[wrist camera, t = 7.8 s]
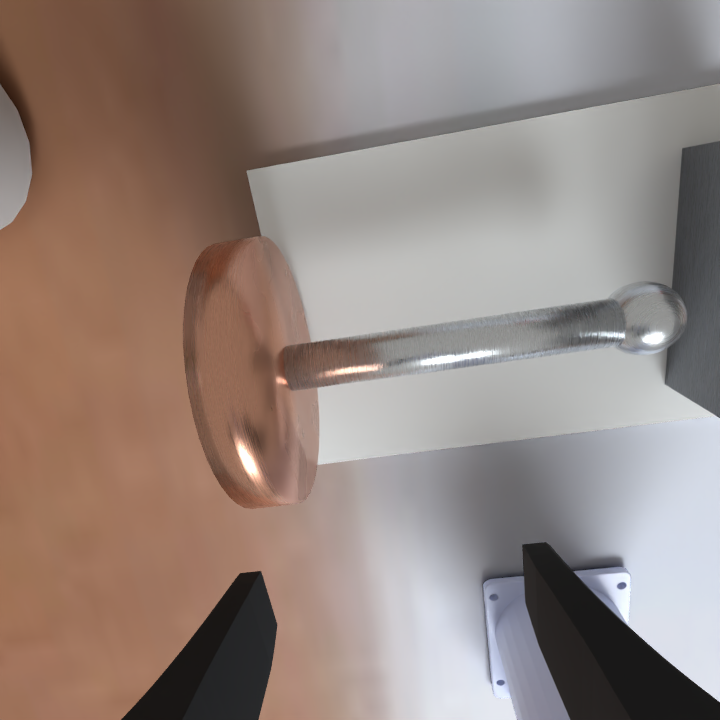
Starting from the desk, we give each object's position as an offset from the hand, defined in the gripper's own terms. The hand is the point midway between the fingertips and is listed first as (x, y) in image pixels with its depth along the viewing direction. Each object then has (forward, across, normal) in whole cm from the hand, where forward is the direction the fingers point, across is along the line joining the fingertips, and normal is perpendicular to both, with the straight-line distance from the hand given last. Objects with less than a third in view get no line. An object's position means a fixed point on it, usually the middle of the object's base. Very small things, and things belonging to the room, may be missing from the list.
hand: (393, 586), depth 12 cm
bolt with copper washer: (+9, -2, -5) cm, 11 cm away
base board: (+10, -9, -5) cm, 15 cm away
